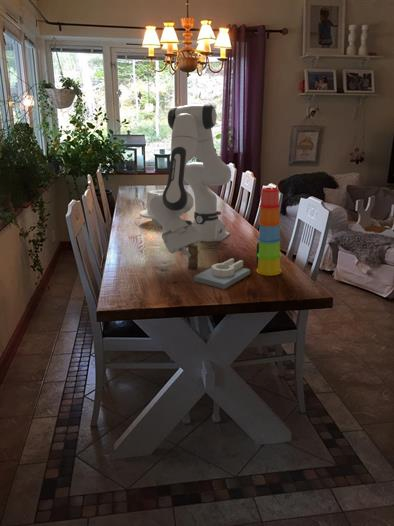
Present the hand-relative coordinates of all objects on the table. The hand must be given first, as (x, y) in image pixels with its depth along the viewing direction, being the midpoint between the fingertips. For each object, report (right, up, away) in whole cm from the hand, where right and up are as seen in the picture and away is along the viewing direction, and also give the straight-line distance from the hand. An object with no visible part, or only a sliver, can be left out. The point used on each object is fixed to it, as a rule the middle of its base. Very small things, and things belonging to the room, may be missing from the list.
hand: (194, 255), depth 183 cm
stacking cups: (+31, -7, -1) cm, 32 cm away
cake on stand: (-20, +20, +77) cm, 82 cm away
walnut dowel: (-1, -5, +2) cm, 6 cm away
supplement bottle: (+30, -3, +10) cm, 32 cm away
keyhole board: (+11, -9, -8) cm, 17 cm away
